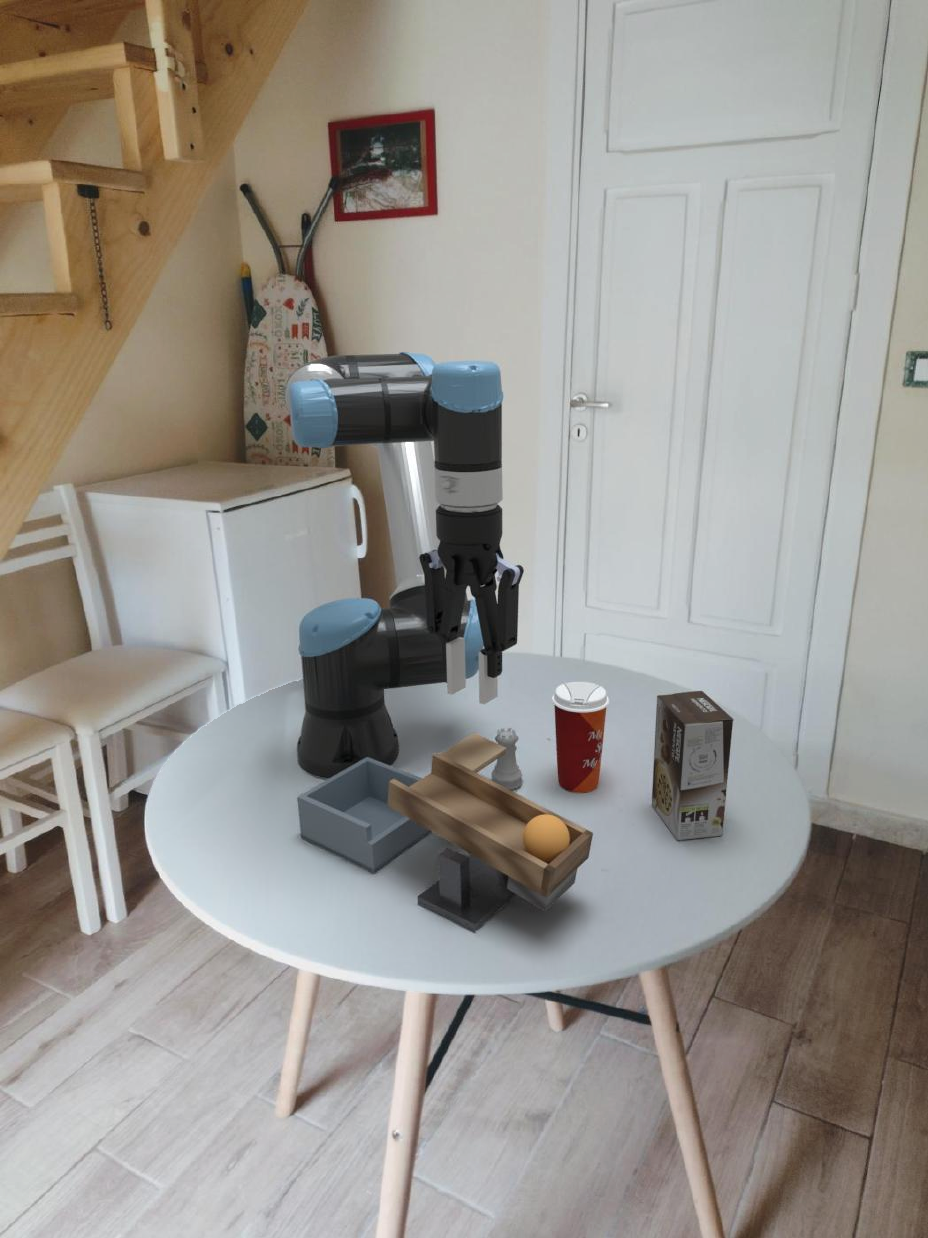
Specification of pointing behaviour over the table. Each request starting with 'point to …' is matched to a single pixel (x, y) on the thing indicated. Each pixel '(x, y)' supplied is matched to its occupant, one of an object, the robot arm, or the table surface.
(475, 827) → the chute
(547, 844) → the ball
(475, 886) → the stand
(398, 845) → the bin
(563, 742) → the paper cup
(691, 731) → the coffee box
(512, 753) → the rook chess piece
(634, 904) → the table surface
